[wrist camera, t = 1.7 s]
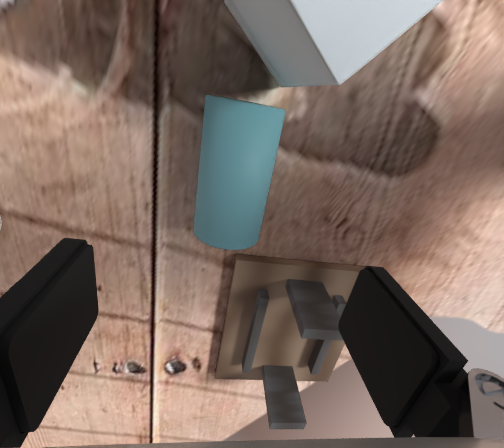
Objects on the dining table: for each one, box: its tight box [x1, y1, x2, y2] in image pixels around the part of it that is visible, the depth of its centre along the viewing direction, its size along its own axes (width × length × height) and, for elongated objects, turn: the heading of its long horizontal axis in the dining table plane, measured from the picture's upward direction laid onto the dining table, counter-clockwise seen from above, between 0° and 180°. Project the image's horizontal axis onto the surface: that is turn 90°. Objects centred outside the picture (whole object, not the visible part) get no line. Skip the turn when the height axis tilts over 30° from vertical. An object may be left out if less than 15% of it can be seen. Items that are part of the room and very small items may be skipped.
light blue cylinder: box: [193, 95, 286, 250], centre depth 23 cm, size 11×6×6 cm, turn 170°
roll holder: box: [215, 254, 365, 429], centre depth 31 cm, size 16×19×8 cm
